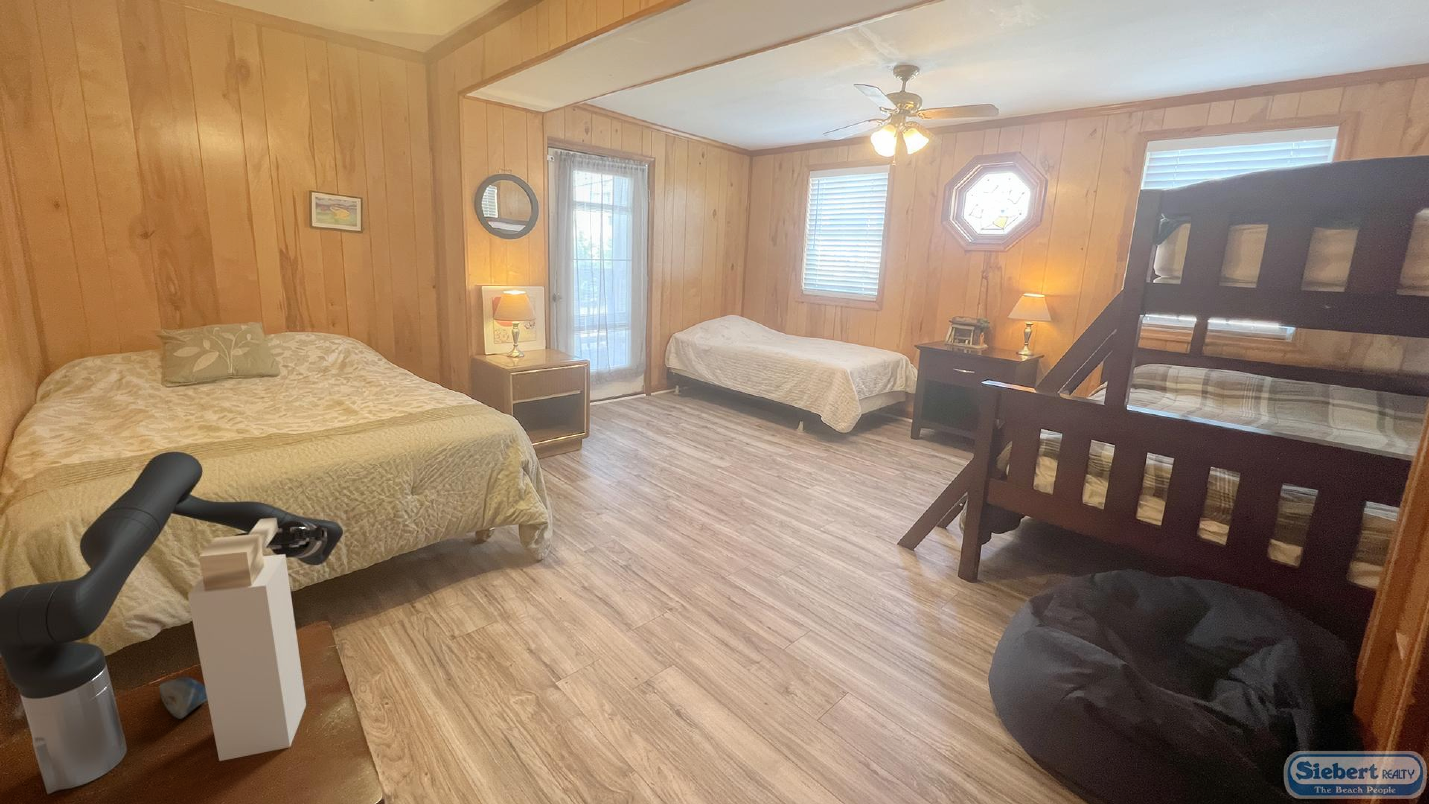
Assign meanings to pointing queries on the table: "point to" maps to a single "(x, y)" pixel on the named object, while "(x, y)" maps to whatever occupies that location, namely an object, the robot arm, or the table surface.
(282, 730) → the stand
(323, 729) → the table surface
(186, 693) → the blue rounded lump
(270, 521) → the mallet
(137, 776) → the table surface
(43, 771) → the robot arm
